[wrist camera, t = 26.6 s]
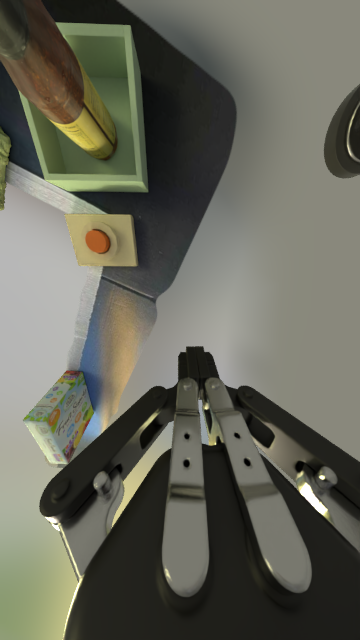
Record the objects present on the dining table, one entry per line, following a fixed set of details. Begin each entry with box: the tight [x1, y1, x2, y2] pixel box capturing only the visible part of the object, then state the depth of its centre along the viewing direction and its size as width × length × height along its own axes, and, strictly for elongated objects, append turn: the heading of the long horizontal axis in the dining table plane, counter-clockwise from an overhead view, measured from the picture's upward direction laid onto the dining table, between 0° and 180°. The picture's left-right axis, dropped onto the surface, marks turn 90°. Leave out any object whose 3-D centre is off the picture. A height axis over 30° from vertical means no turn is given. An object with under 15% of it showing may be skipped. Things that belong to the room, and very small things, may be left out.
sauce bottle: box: [0, 0, 118, 161], centre depth 16 cm, size 7×6×20 cm
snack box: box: [23, 371, 94, 464], centre depth 45 cm, size 21×6×15 cm, turn 175°
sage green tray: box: [19, 23, 148, 192], centre depth 23 cm, size 15×14×6 cm
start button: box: [85, 230, 110, 253], centre depth 28 cm, size 4×4×2 cm
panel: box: [65, 214, 138, 266], centre depth 30 cm, size 12×9×4 cm
